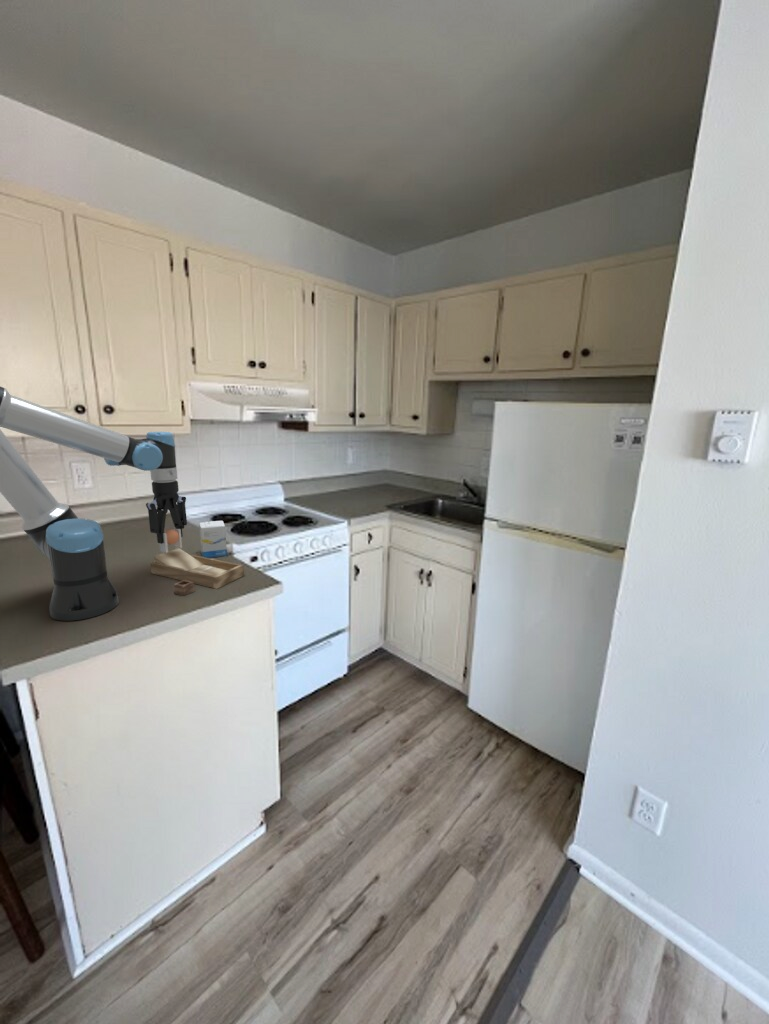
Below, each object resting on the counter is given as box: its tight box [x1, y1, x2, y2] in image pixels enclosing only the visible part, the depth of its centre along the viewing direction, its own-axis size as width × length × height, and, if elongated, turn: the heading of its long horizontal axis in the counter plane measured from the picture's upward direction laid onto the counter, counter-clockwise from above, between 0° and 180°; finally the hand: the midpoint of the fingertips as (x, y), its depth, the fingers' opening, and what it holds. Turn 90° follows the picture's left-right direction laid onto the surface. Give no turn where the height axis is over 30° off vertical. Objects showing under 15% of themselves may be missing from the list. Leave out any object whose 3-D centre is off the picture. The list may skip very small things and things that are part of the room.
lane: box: [149, 547, 245, 590], centre depth 139 cm, size 12×28×6 cm, turn 67°
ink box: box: [198, 520, 228, 559], centre depth 158 cm, size 9×8×12 cm
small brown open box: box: [173, 580, 195, 597], centre depth 125 cm, size 4×4×3 cm
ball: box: [164, 528, 179, 545], centre depth 141 cm, size 5×5×5 cm
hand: (171, 549), depth 142 cm, fingers closed on ball, 5 cm apart
